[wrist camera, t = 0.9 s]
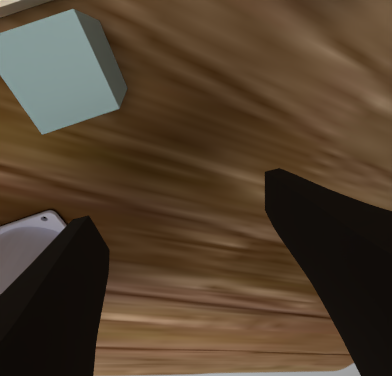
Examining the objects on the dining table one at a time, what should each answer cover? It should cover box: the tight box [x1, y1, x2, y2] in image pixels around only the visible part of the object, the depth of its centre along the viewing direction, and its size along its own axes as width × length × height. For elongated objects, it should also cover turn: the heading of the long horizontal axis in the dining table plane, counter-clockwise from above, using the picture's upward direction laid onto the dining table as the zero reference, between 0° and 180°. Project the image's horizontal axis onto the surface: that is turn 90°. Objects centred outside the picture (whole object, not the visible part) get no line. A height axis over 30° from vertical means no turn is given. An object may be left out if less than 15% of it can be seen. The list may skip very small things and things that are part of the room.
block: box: [0, 9, 127, 135], centre depth 13 cm, size 4×4×6 cm
